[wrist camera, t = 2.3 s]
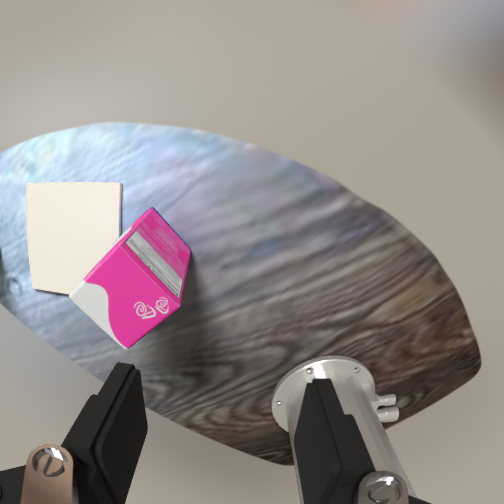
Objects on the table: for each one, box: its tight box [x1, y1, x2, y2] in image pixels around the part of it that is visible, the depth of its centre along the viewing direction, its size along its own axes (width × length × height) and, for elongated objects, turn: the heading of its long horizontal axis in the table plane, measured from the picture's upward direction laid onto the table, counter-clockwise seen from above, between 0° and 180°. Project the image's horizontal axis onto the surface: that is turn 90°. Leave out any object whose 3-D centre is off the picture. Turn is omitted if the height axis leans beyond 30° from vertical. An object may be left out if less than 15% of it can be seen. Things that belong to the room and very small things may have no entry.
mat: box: [26, 182, 122, 294], centre depth 29 cm, size 12×12×1 cm
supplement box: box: [69, 207, 191, 350], centre depth 24 cm, size 6×6×12 cm
